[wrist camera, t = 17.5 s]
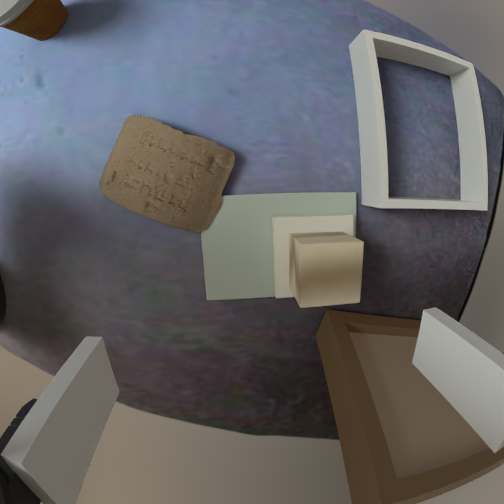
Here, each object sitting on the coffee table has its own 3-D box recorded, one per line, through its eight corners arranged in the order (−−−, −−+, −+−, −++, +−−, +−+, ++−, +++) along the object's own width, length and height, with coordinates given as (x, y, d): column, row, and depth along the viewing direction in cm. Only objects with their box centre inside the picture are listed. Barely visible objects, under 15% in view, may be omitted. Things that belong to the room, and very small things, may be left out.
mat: (207, 298, 35) (206, 300, 34) (199, 197, 32) (198, 197, 32) (351, 288, 36) (353, 290, 35) (354, 192, 33) (356, 192, 33)
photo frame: (324, 306, 36) (424, 461, 12) (445, 320, 38) (550, 408, 14) (294, 395, 39) (333, 546, 15) (409, 394, 41) (478, 495, 17)
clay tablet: (239, 153, 31) (238, 149, 28) (203, 237, 33) (199, 241, 30) (128, 113, 30) (118, 107, 27) (97, 191, 32) (86, 191, 29)
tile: (275, 298, 33) (350, 291, 33) (273, 217, 31) (353, 215, 31) (273, 292, 35) (345, 287, 35) (271, 216, 33) (347, 213, 33)
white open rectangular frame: (361, 204, 34) (380, 208, 29) (348, 45, 29) (363, 29, 24) (464, 206, 34) (487, 210, 29) (453, 71, 30) (472, 63, 25)
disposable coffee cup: (88, 3, 25) (52, -37, 13) (50, 54, 26) (2, 26, 15) (52, -3, 23) (17, -34, 12) (18, 45, 25) (-26, 22, 13)
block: (289, 233, 31) (301, 244, 26) (341, 231, 32) (363, 241, 26) (289, 286, 33) (300, 307, 27) (340, 283, 33) (359, 302, 27)
